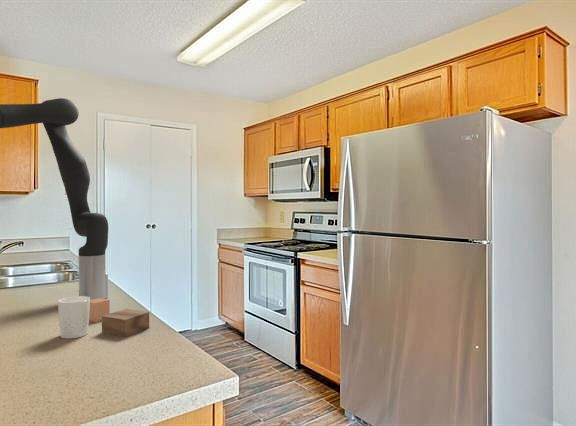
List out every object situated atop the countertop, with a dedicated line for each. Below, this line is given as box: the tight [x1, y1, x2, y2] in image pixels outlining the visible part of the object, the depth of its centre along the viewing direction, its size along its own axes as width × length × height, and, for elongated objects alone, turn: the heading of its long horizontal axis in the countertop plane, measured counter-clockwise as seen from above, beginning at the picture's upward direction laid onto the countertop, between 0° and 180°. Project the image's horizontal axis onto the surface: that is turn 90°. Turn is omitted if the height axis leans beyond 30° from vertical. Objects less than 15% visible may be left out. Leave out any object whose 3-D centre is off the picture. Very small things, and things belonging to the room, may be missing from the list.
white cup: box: [57, 295, 90, 340], centre depth 110 cm, size 8×8×10 cm
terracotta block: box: [89, 298, 110, 323], centre depth 125 cm, size 5×5×6 cm
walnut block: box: [101, 308, 150, 338], centre depth 114 cm, size 9×9×5 cm
